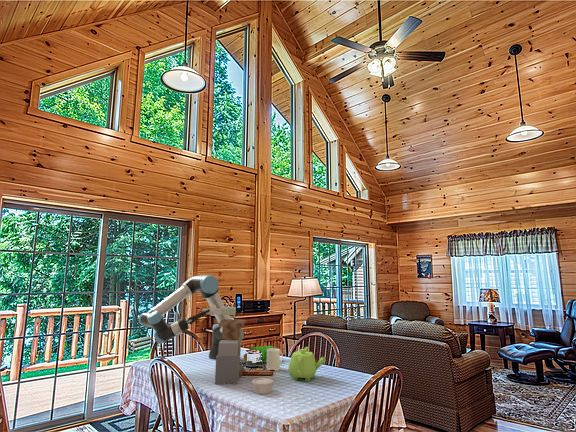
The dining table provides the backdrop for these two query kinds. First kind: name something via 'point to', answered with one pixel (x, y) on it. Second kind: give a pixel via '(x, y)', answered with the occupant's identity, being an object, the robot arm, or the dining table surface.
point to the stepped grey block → (227, 362)
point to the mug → (274, 358)
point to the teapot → (304, 364)
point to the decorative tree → (262, 349)
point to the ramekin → (262, 385)
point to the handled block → (224, 311)
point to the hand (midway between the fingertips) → (215, 306)
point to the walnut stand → (233, 333)
